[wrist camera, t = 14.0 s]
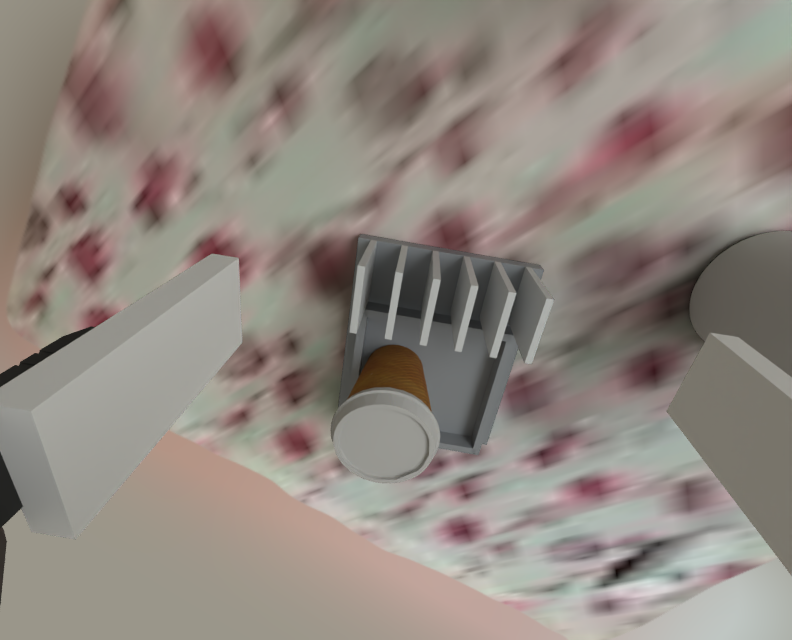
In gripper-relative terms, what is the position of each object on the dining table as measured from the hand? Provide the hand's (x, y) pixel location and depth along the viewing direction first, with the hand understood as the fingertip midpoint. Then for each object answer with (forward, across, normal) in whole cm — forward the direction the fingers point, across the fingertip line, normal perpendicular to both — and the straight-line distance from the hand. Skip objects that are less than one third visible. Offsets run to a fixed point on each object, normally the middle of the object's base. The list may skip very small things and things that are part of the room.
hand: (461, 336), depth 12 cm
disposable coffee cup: (+28, -2, -20) cm, 34 cm away
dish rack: (+29, +2, -17) cm, 34 cm away
